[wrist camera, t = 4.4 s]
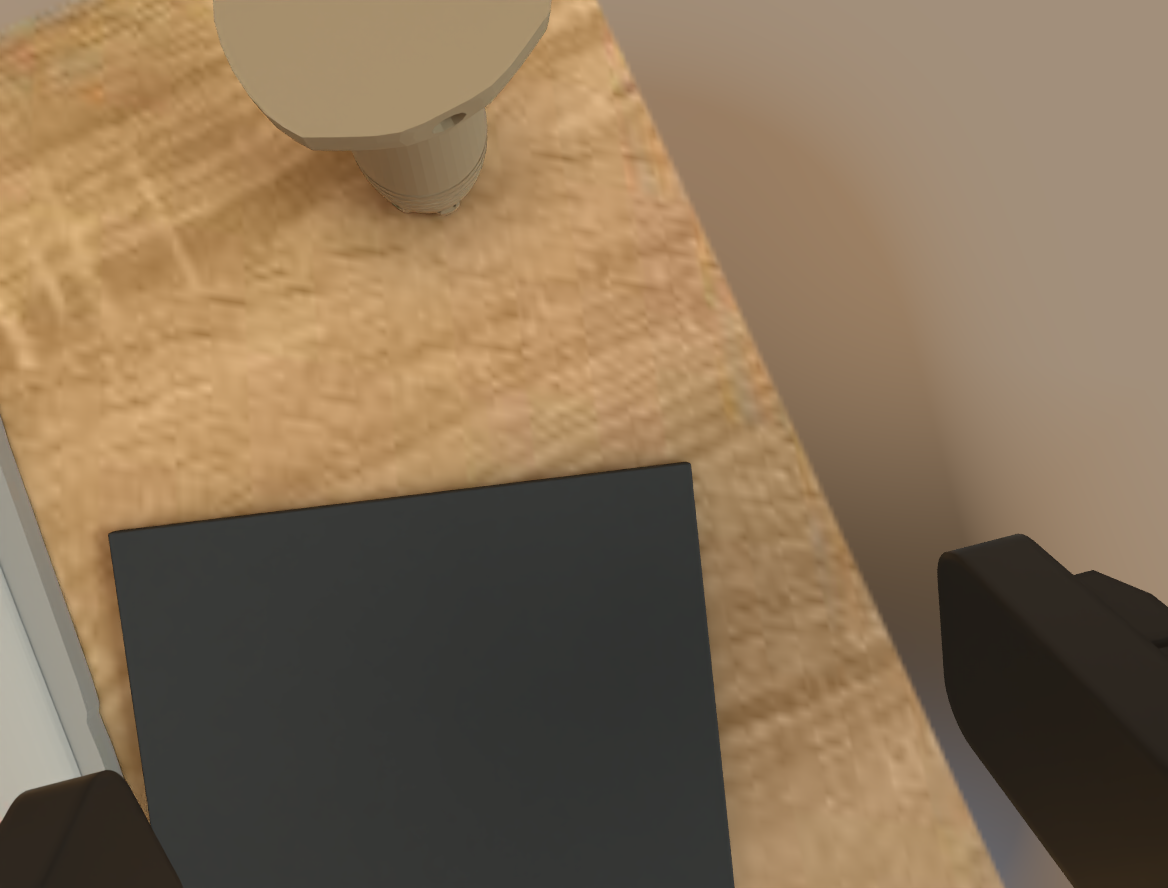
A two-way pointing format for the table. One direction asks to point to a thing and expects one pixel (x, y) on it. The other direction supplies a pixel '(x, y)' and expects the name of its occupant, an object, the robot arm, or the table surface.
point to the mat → (432, 690)
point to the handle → (384, 81)
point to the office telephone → (39, 661)
